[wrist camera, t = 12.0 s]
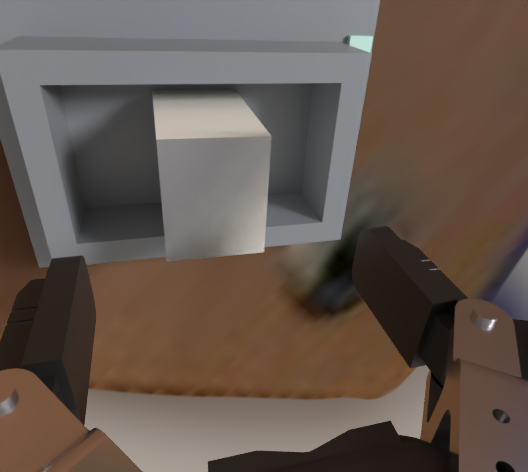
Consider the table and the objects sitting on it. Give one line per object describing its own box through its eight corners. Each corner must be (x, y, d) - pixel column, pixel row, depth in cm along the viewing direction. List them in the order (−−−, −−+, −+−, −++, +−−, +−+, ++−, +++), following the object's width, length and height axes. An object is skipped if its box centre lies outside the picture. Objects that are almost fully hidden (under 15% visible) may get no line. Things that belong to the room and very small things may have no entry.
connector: (160, 186, 22) (166, 261, 17) (151, 89, 20) (155, 139, 14) (234, 182, 23) (264, 252, 17) (235, 89, 20) (271, 136, 15)
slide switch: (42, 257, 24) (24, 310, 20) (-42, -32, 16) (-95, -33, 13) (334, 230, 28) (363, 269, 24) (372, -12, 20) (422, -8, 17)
